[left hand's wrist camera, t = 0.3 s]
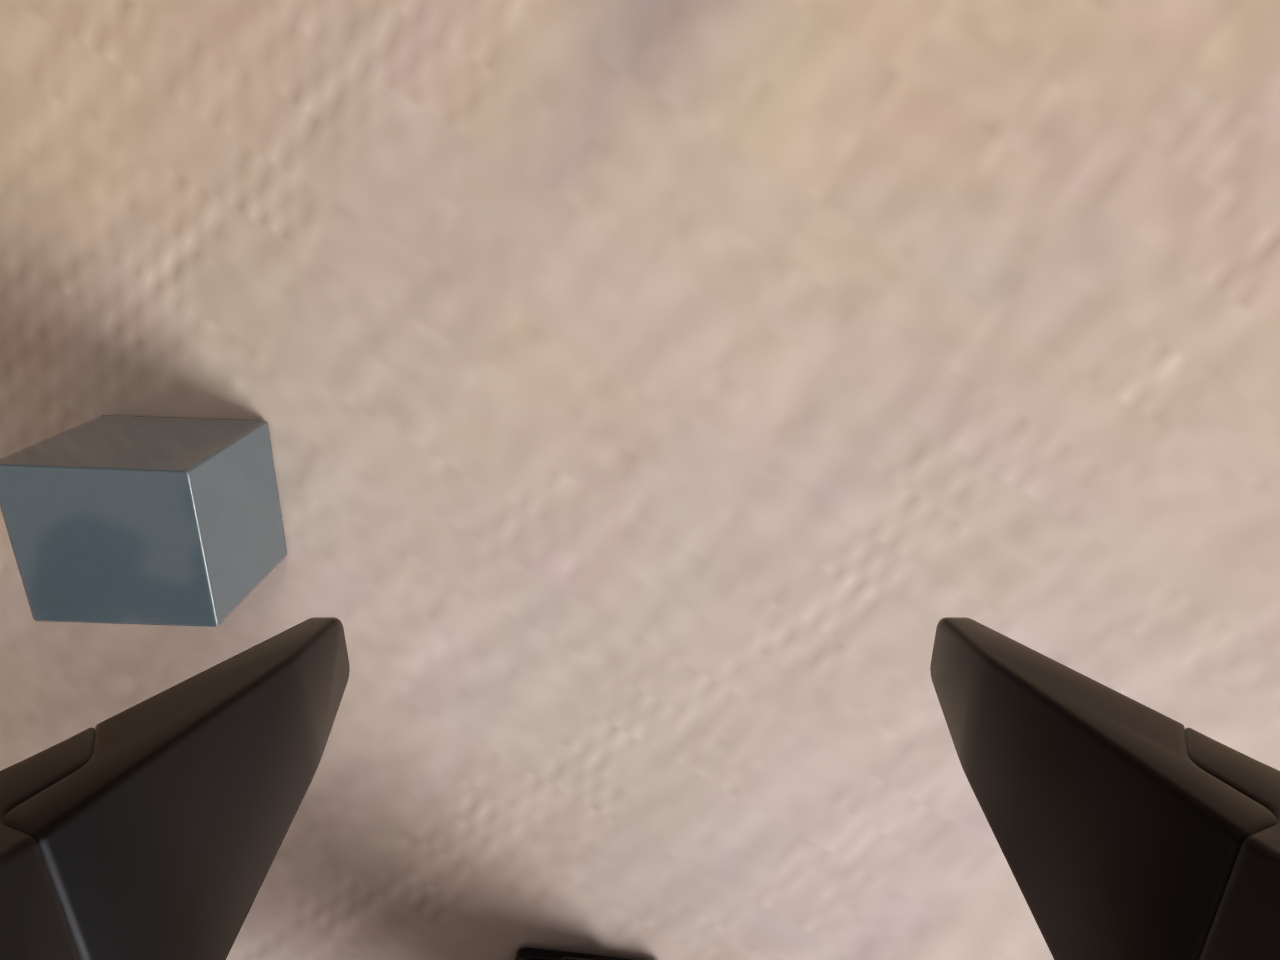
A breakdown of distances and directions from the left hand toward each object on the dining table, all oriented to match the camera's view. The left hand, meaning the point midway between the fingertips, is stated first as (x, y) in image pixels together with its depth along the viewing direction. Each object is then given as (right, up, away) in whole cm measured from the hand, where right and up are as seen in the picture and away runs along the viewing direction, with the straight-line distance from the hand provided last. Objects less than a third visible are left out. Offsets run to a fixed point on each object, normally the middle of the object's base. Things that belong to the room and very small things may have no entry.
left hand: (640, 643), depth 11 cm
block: (-14, +2, +13) cm, 20 cm away
